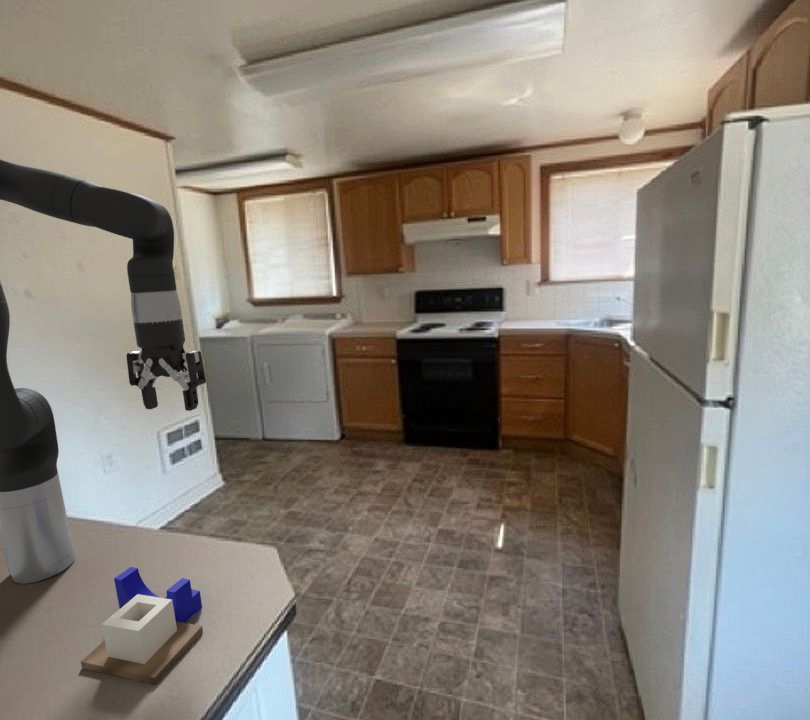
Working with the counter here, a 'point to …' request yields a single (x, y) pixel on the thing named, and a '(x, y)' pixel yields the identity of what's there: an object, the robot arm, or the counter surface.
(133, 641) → the white hollow square block
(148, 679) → the pin base
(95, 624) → the counter surface
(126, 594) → the blue curved saddle bracket
